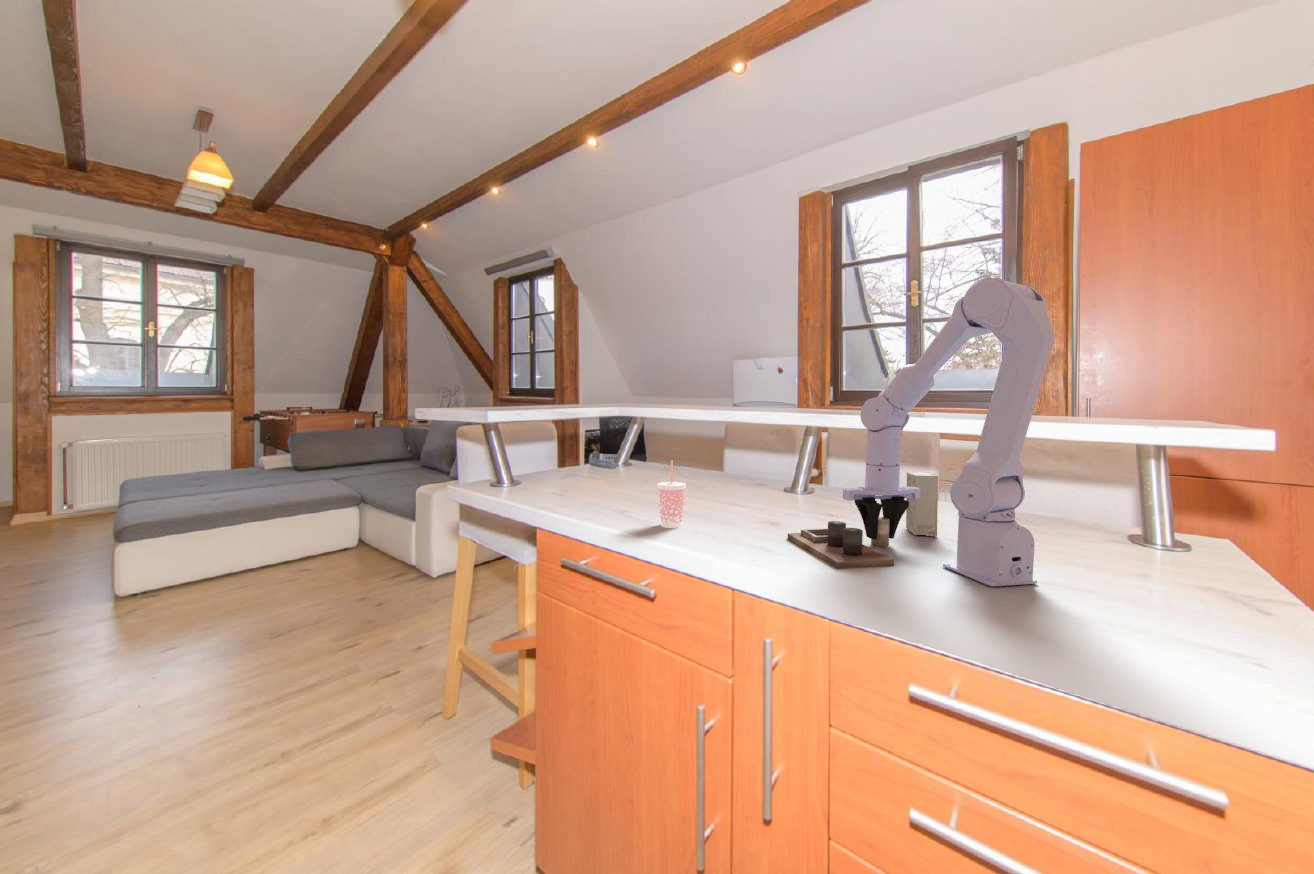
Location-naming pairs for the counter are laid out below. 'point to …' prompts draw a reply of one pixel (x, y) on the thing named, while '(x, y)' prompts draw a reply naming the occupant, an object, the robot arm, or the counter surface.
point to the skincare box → (923, 504)
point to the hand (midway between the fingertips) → (880, 537)
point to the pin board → (838, 556)
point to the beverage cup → (671, 502)
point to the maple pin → (882, 533)
